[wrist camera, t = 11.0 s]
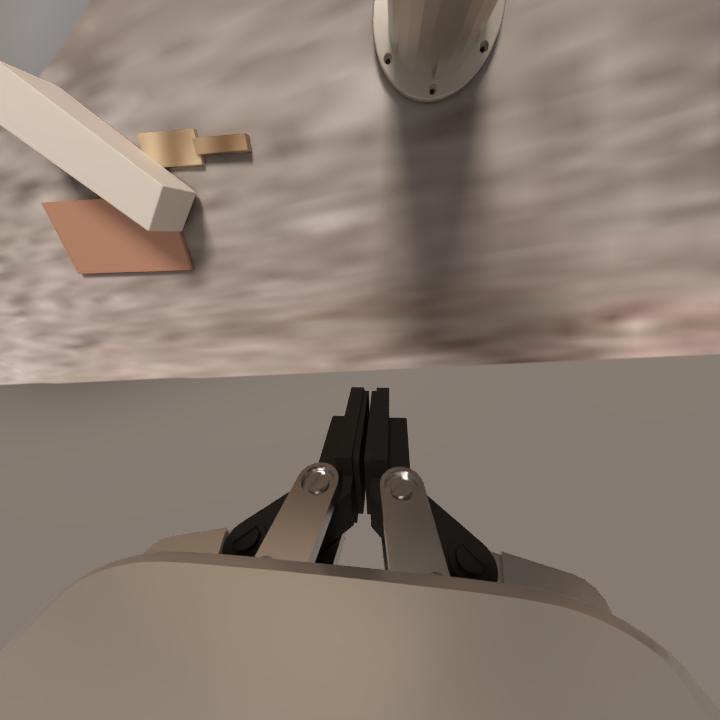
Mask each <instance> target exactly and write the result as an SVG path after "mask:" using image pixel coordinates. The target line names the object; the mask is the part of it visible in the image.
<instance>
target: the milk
mask: <svg viewBox="0 0 720 720" xmlns="http://www.w3.org/2000/svg"><path fill="white" fill-rule="evenodd" d="M0 125H1V126H2V127H4V128H5V129H6V130H8V131H9V132H11V133H12V134H13V135H15V136H16V137H18V138H19V139H20V140H22V141H23V142H25V143H26V144H27V145H29V146H30V147H32V148H33V149H34V150H36V151H37V152H39V153H40V154H41V155H43V156H44V157H46V158H47V159H48V160H50V161H51V162H53V163H54V164H55V165H57V166H58V167H60V168H61V169H62V170H64V171H65V172H66V173H68V174H69V175H71V176H72V177H73V178H75V179H76V180H78V181H79V182H80V183H82V184H83V185H85V186H86V187H87V188H89V189H90V190H92V191H93V192H94V193H96V194H97V195H99V196H100V197H101V198H103V199H104V200H106V201H107V202H108V203H110V204H111V205H113V206H114V207H115V208H117V209H118V210H120V211H121V212H122V213H124V214H125V215H127V216H128V217H129V218H131V219H132V220H133V221H135V222H136V223H138V224H139V225H140V226H142V227H143V228H145V229H146V230H148V231H182V230H183V227H184V225H185V222H186V219H187V217H188V214H189V211H190V209H191V206H192V203H193V201H194V198H195V195H196V192H195V191H193V190H192V189H191V188H189V187H188V186H187V185H186V184H184V183H183V182H182V181H180V180H179V179H178V178H176V177H175V176H174V175H173V174H171V173H170V172H169V171H167V170H166V169H165V168H164V167H162V166H161V165H160V164H158V163H157V162H156V161H154V160H153V159H152V158H151V157H149V156H148V155H147V154H145V153H144V152H143V151H141V150H140V149H139V148H138V147H136V146H135V145H134V144H132V143H131V142H130V141H128V140H127V139H126V138H125V137H123V136H122V135H121V134H119V133H118V132H117V131H115V130H114V129H113V128H112V127H110V126H109V125H108V124H106V123H105V122H104V121H102V120H101V119H100V118H99V117H97V116H96V115H95V114H93V113H92V112H91V111H89V110H88V109H87V108H86V107H84V106H83V105H82V104H80V103H79V102H78V101H77V100H75V99H74V98H73V97H71V96H70V95H69V94H67V93H66V92H65V91H64V90H62V89H61V88H60V87H58V86H56V85H54V84H51V83H49V82H47V81H45V80H42V79H40V78H38V77H35V76H33V75H31V74H29V73H26V72H24V71H22V70H19V69H17V68H15V67H13V66H10V65H8V64H6V63H3V62H1V61H0Z"/></svg>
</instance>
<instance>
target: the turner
mask: <svg viewBox="0 0 720 720" xmlns="http://www.w3.org/2000/svg"><path fill="white" fill-rule="evenodd" d="M136 136H137V139H138V141H139V144H140V147H141V150H142V151H143V152H144V153H145V154H147V155H148V156H149V157H151V158H152V159H153V160H154V161H156V162H157V163H158V164H160V165H161V166H162V167H164V168H171V167H185V166H199V165H205V162H204V158H203V156H204V155H217V154H230V153H242V152H252V150H251V145H250V139H249V135H247V134H245V133H243V134H232V135H221V136H211V137H200V138H198V134H197V130H196V129H193V128H192V129H181V130H171V131H161V132H151V133H141V134H136Z"/></svg>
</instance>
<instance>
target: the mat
mask: <svg viewBox="0 0 720 720" xmlns="http://www.w3.org/2000/svg"><path fill="white" fill-rule="evenodd" d="M42 205H43V207H44V209H45V211H46V213H47V215H48V217H49V219H50V221H51V222H52V224H53V226H54V228H55V230H56V232H57V234H58V236H59V238H60V240H61V242H62V243H63V245H64V247H65V249H66V251H67V253H68V255H69V257H70V259H71V261H72V263H73V264H74V266H75V268H76V270H77V272H78V274H87V273H116V272H144V271H173V270H192V269H193V266H192V263H191V260H190V257H189V254H188V251H187V248H186V245H185V241H184V238H183V235H182V232H181V231H148V230H146V229H145V228H143V227H142V226H140V225H139V224H138V223H136V222H135V221H133V220H132V219H131V218H129V217H128V216H127V215H125V214H124V213H122V212H121V211H120V210H118V209H117V208H115V207H114V206H113V205H111V204H110V203H108V202H107V201H106V200H104V199H103V198H102V199H89V200H75V201H61V202H47V203H42Z"/></svg>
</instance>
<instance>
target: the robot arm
mask: <svg viewBox="0 0 720 720" xmlns="http://www.w3.org/2000/svg"><path fill="white" fill-rule="evenodd" d="M505 3H506V0H374V3H373V20H372V24H373V37H374V43H375V50H376V54H377V57H378V60H379V64H380V66H381V68H382V70H383V72H384V74H385V76H386V78H387V80H388V81H389V82H390V84H391V85H392V86H393V87H394V88H395V89H396V90H397V91H398V92H399V93H400V94H402V95H403V96H405V97H407V98H409V99H411V100H413V101H418V102H422V103H427V102H437V101H440V100H443V99H446V98H448V97H450V96H452V95H454V94H455V93H457V92H458V91H459V90H461V89H462V88H463V87H464V86H466V85H467V84H468V83H469V82H470V81H471V79H472V78H473V77H474V76H475V75H476V74H477V73H478V71H479V70H480V68H481V67H482V65H483V64H484V62H485V60H486V59H487V57H488V55H489V54H490V52H491V50H492V48H493V45H494V43H495V40H496V38H497V35H498V33H499V30H500V26H501V23H502V19H503V15H504V10H505ZM481 48H483V49H484V53H481V52H480V49H481ZM387 60H390V64H388V65H387V64H386V61H387ZM430 90H433V91H434V94H433V95H431V94H430ZM365 492H366V498H367V499H366V500H367V514H371V526H372V528H373V529H374V530H375V531H376V532H377V534H378V535H379V536H380V537H381V546H382V556H383V566H384V570H381V569H371V568H360V567H351V566H341V565H337V564H338V560H339V557H340V553H341V550H342V546H343V543H344V540H345V534H346V531H347V530H348V529H349V528H351V527H352V526H353V525H354V522H355V523H357V519H358V513H360V514H363V511H364V502H365V501H364V500H365ZM0 720H720V710H719V709H718V708H717V707H716V705H715V704H714V703H713V701H712V700H711V699H710V697H709V696H708V695H707V693H706V692H705V691H704V690H703V689H702V687H701V686H700V685H699V684H698V683H697V681H696V680H695V679H694V678H693V677H692V675H691V674H690V673H689V672H688V671H687V670H686V669H685V667H684V666H683V665H682V664H681V663H680V662H679V661H678V660H676V658H675V657H674V656H673V655H672V654H671V653H669V652H668V651H667V650H666V649H665V648H664V647H663V646H661V645H660V644H659V643H657V642H656V641H654V640H653V639H652V638H651V637H649V636H648V635H646V634H645V633H643V632H642V631H640V630H639V629H637V628H635V627H634V626H632V625H631V624H629V623H627V622H626V621H624V620H622V619H620V618H618V617H616V616H614V615H613V614H612V613H611V610H610V609H609V607H608V605H607V603H606V601H605V599H604V598H603V597H602V595H601V594H600V593H599V592H598V591H597V590H596V588H594V587H593V586H592V585H591V584H589V583H588V582H587V581H586V580H584V579H582V578H580V577H578V576H576V575H573V574H571V573H567V572H564V571H561V570H558V569H555V568H552V567H548V566H545V565H542V564H539V563H536V562H533V561H530V560H527V559H523V558H520V557H517V556H514V555H510V554H508V553H504V552H501V555H500V554H497V553H494V552H490V551H489V550H488V549H487V547H486V546H485V545H484V544H483V543H482V542H480V541H479V540H478V539H477V538H476V537H475V536H473V535H472V534H471V533H470V532H469V531H468V530H467V529H465V528H464V527H463V526H462V525H461V524H460V523H458V522H457V521H456V520H455V519H454V518H453V517H451V516H450V515H449V514H448V513H447V512H446V511H444V510H443V509H442V508H441V507H440V506H439V505H438V504H436V503H435V502H434V501H433V500H432V499H431V498H430V497H428V496H427V494H426V490H425V487H424V484H423V481H422V479H421V477H420V476H419V475H418V474H417V473H416V472H415V471H413V470H411V469H410V462H409V448H408V433H407V419H406V418H389V388H377V391H372V396H371V404H370V411H369V391H364V388H361V387H359V388H357V387H352V388H351V392H350V396H349V400H348V405H347V408H346V413H345V416H333V417H332V420H331V423H330V427H329V430H328V433H327V437H326V440H325V443H324V447H323V450H322V453H321V457H320V460H319V463H314V464H311V465H309V466H307V467H306V468H305V469H303V470H302V471H301V473H300V474H299V476H298V477H297V479H296V481H295V483H294V485H293V487H292V488H291V490H290V492H289V493H287V494H285V495H284V496H282V497H281V498H279V499H278V500H276V501H274V502H273V503H271V504H270V505H268V506H267V507H265V508H264V509H262V510H260V511H259V512H257V513H256V514H254V515H253V516H251V517H250V518H248V519H246V520H245V521H243V522H242V523H240V524H239V525H238V526H237V527H235V528H234V529H233V530H227V528H221V529H215V530H208V531H202V532H197V533H190V534H183V535H177V536H171V537H167V538H164V539H161V540H160V541H158V542H157V543H155V544H154V545H152V546H151V547H150V548H149V549H148V550H147V551H146V552H145V553H144V554H140V555H135V556H132V557H128V558H124V559H121V560H117V561H115V562H111V563H108V564H106V565H103V566H101V567H98V568H96V569H94V570H92V571H90V572H88V573H86V574H84V575H83V576H81V577H79V578H78V579H76V580H74V581H73V582H72V583H70V584H69V585H68V586H67V587H65V588H64V589H63V590H61V592H59V593H58V594H57V595H56V596H55V597H54V598H52V599H51V600H50V601H49V602H48V603H47V604H46V605H45V606H44V607H43V608H42V609H41V610H40V611H39V612H38V613H37V614H36V615H35V616H34V617H33V618H32V619H31V620H30V621H29V622H28V623H27V624H26V625H25V626H24V627H23V628H22V629H21V631H19V632H18V633H17V634H16V635H15V637H14V638H13V639H12V640H11V641H10V642H9V643H8V644H7V645H6V646H5V647H4V648H3V649H2V650H1V652H0Z"/></svg>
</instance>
